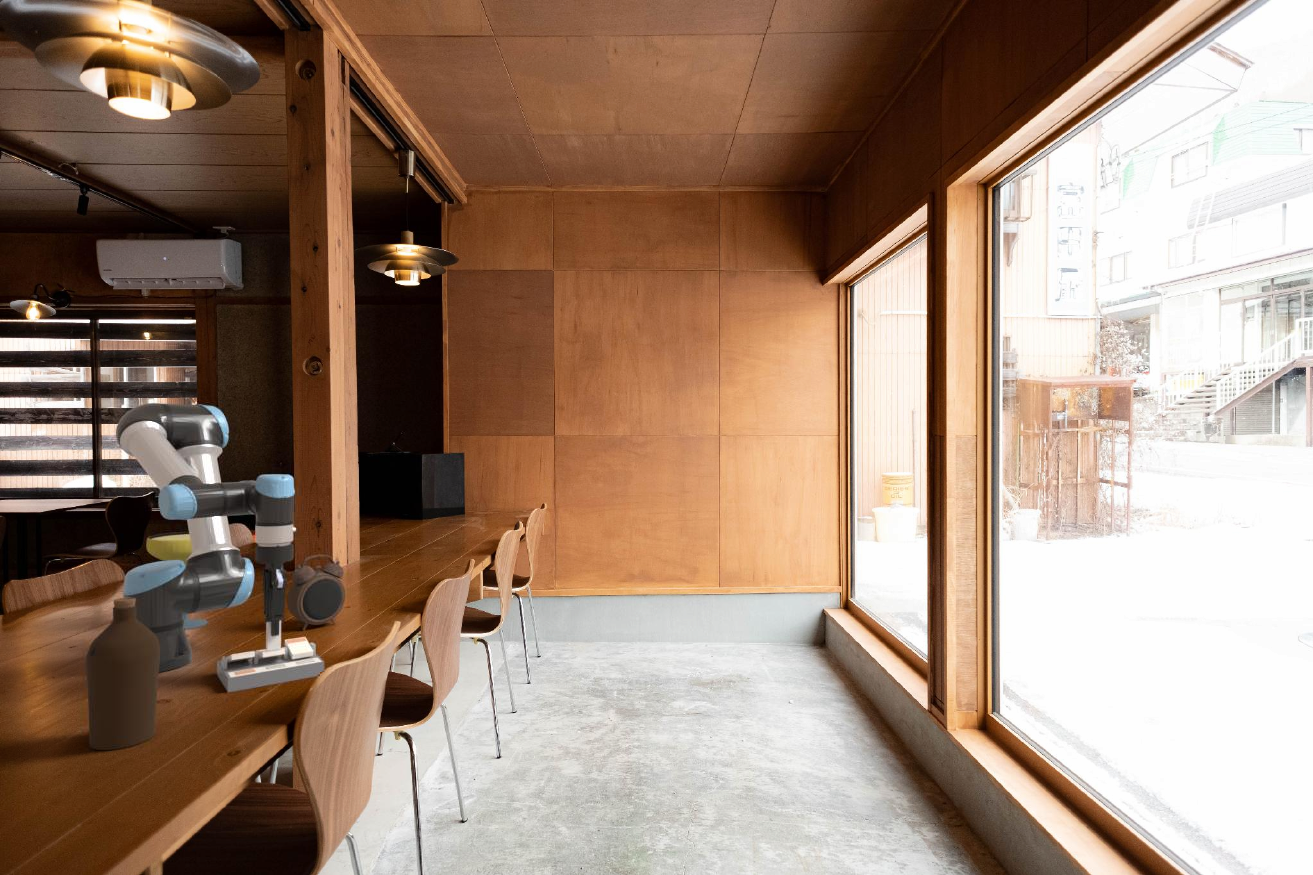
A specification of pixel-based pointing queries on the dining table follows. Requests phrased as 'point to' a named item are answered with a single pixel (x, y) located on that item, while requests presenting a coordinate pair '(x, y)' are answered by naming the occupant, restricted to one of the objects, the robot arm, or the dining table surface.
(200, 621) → the cocktail glass
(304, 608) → the alarm clock
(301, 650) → the right switch
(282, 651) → the middle switch
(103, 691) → the olive oil
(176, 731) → the dining table surface
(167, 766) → the dining table surface
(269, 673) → the switch unit
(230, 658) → the left switch
